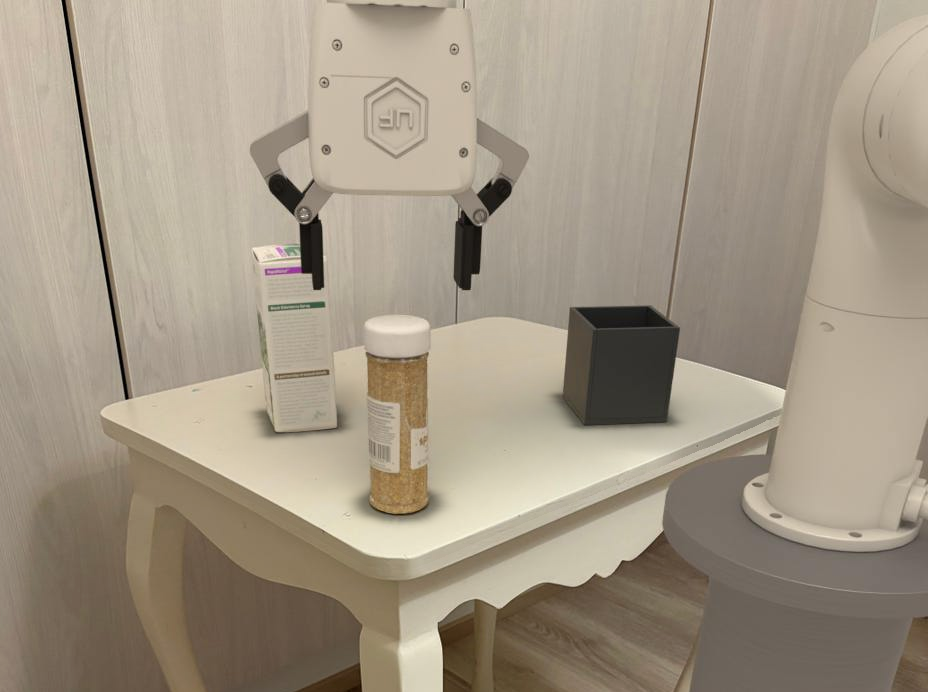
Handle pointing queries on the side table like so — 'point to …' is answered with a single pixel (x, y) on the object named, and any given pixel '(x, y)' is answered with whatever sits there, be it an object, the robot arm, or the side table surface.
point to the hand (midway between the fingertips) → (390, 285)
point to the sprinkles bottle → (397, 411)
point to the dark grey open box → (619, 364)
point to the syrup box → (294, 341)
